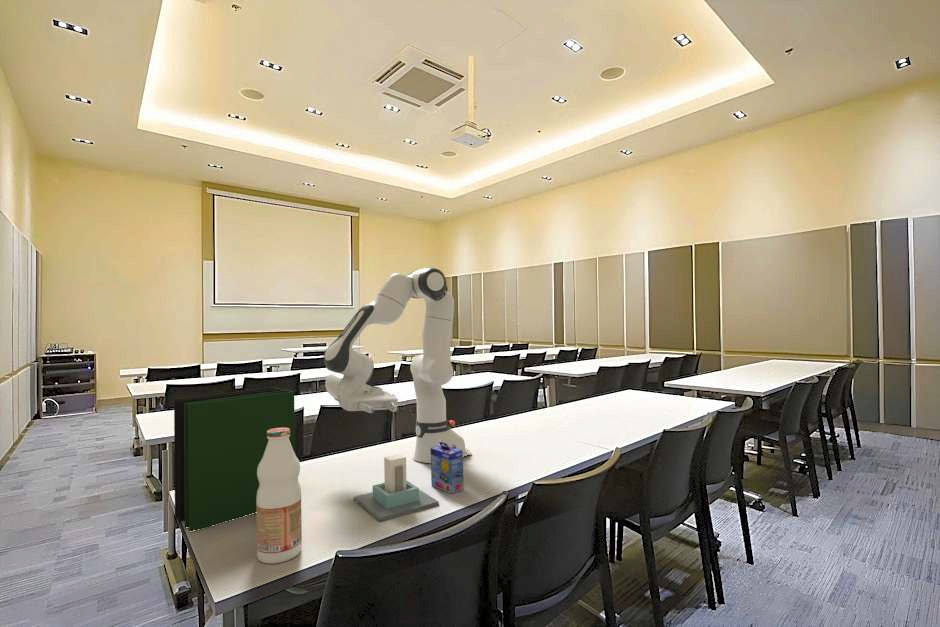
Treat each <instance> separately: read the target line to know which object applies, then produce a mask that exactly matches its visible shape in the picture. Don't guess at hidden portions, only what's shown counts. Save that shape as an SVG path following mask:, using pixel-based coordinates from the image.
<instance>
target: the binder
mask: <svg viewBox="0 0 940 627" xmlns="http://www.w3.org/2000/svg"><path fill="white" fill-rule="evenodd" d="M173 420H174V421H173V422H174V424H173V428H174V430H173V431H174V432H173V434H174V435H173V436H174V439H173V440H174V442H173V444H174V445H173V446H174V447H173V448H174V451H173V452H174V454H173V455H174V519H175V520H176V519H178V523H183V522H184V529H185V528H186V527H189V528H188V532H189V531H193V530H198V529H201V530H203V529H202V528H205V529H207V528H206V527H208V528H211V527H213V526H212V525H215V526H217V525H216V524H218V525H220V524H219V523H221V524H223V523H222V522H225V521H228V522H230V521H229V520H231V521H233V520H232V519H235V520H237V519H236V518H238V519H240V518H239V517H242V518H244V517H243V516H245V515H248V516H250V515H249V514H252V513H255V512H257V511H256V497H257V490H258V488H259V481H258V478H257V467H258V465H259V463H260V461H261V460H262V458H263V455H264V452H265V449H266V446H267V443H268V439H267V431H268V430H270V429H274V428H289V429H290V436H289V441H290V443H291V446H292V448H293V451H294V453H295V454H296V449H295V447H296V444H295V443H296V441H295V440H296V438H295V436H296V435H295V429H296V428H295V391H294V390H293V391H292V390H288V389H283V390H281V388H278V387H274V386H273V387H266V388H256V389H247V390H239V391H233V392H224V393H216V394H215V393H214V394H207V395H199V396H192V397H191V396H190V397H183V398H175V399H173ZM255 514H256V513H255ZM252 515H253V514H252ZM245 517H246V516H245ZM225 523H226V522H225ZM210 526H211V527H210ZM198 531H199V530H198Z"/></svg>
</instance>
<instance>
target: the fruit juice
mask: <svg viewBox="0 0 940 627" xmlns="http://www.w3.org/2000/svg"><path fill="white" fill-rule="evenodd" d="M289 436H290V429H289V428H274V429H270V430H268V431H267V439H268V443H267V446H266V449H265V452H264V455H263V458H262V460H261V461H260V463H259V465H258V467H257V478H258V481H259V488H258V490H257V497H256V511H257V513H256V557H257V560H258V561H259V562H260V563H263V564H270V565H271V564H273V565H275V564H280V563H285V562H287V561H290V560H292V559H294V558H295V557H297V556H298V555H299V554H300V553H301V550H302V545H303V544H302V541H303V540H302V537H303V532H302V530H303V529H302V487H301V484H300V481H299V476H300V472H301V464H300V463H301V461H300V460H299V458H298V457H297V455H296V452H295V453H294V451H293V448H292V446H291V443H290V441H289Z"/></svg>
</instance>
